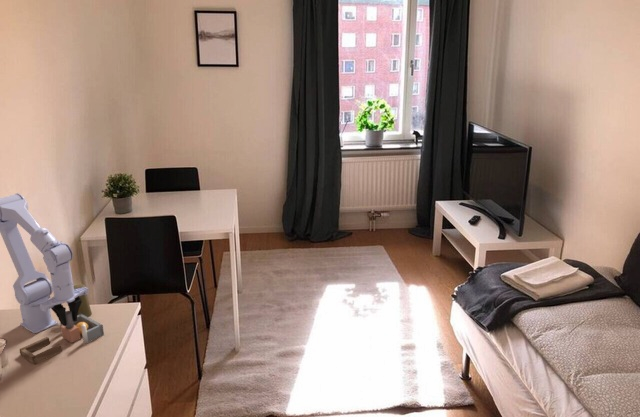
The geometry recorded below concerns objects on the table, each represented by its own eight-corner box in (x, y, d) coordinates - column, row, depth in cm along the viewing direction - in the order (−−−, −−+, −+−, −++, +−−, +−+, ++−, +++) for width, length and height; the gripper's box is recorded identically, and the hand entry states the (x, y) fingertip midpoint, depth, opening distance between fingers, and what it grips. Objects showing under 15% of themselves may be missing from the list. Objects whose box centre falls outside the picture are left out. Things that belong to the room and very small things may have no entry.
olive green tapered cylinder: (85, 320, 184) (80, 290, 180) (69, 318, 185) (64, 289, 181) (95, 311, 189) (91, 282, 186) (79, 309, 190) (75, 281, 187)
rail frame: (20, 355, 164) (19, 349, 164) (47, 342, 171) (46, 336, 170) (34, 364, 160) (33, 358, 159) (62, 351, 166) (61, 345, 166)
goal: (63, 331, 177) (60, 315, 175) (82, 322, 182) (79, 306, 180) (85, 344, 170) (82, 327, 168) (104, 334, 175) (102, 318, 173)
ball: (84, 318, 177) (83, 330, 178) (72, 322, 174) (72, 333, 175) (91, 322, 175) (90, 334, 176) (79, 325, 172) (79, 337, 173)
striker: (62, 337, 173) (58, 312, 170) (71, 333, 175) (67, 308, 172) (71, 342, 170) (67, 317, 167) (80, 338, 172) (76, 313, 170)
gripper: (46, 295, 159) (53, 336, 163) (91, 278, 170) (97, 316, 174) (33, 289, 163) (41, 329, 167) (78, 272, 174) (84, 310, 178)
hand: (69, 322), depth 171 cm, fingers open, 3 cm apart
